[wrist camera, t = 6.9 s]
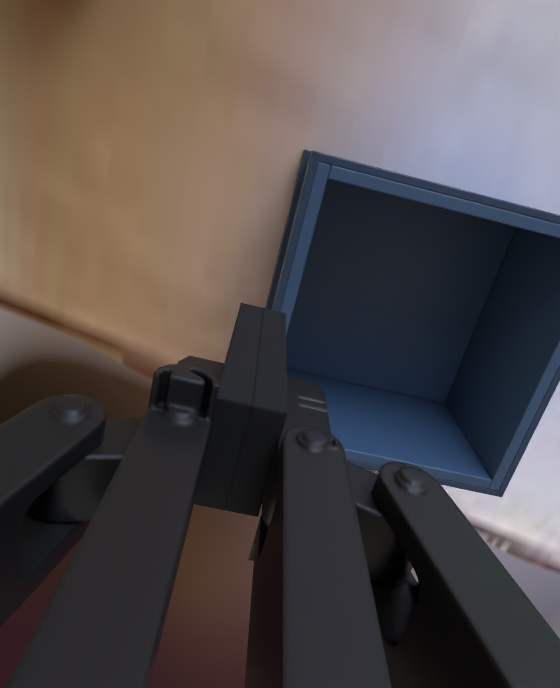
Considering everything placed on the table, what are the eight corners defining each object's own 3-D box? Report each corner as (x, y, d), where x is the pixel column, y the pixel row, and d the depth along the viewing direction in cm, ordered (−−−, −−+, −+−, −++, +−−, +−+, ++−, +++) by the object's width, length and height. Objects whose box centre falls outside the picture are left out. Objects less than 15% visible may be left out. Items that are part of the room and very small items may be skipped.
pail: (315, 139, 18) (652, 227, 19) (305, 141, 25) (547, 204, 26) (238, 450, 23) (510, 506, 24) (249, 375, 30) (456, 420, 31)
